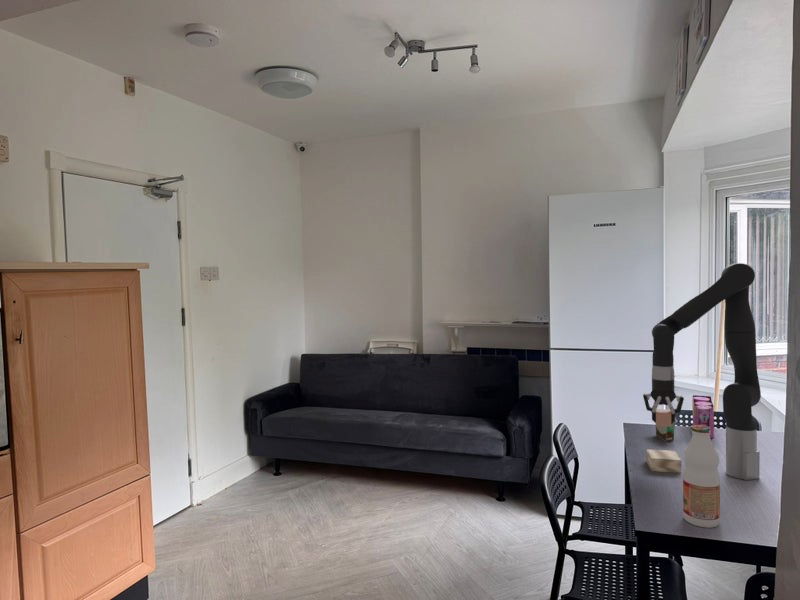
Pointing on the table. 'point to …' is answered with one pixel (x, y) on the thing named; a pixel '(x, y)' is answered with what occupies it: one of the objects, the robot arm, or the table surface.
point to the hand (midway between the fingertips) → (663, 422)
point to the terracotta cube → (663, 417)
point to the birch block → (663, 460)
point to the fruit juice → (701, 480)
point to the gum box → (703, 412)
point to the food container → (666, 432)
